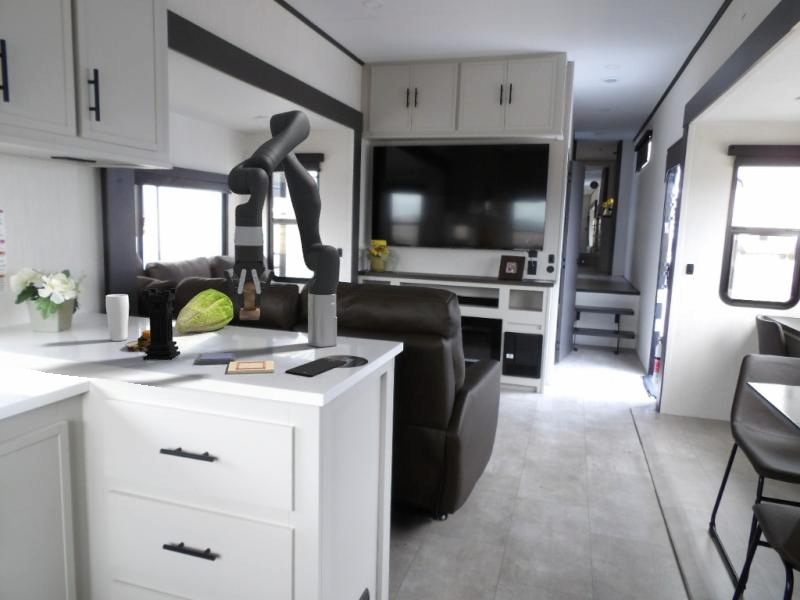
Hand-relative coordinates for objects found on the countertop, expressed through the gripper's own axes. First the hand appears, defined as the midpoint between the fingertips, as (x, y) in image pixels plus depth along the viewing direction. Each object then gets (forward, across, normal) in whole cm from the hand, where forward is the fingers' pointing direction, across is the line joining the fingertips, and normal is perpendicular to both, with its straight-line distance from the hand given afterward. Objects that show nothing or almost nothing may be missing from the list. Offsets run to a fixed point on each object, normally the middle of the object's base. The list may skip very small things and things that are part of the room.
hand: (249, 306), depth 151 cm
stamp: (+3, 0, 0) cm, 3 cm away
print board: (+17, 0, 0) cm, 17 cm away
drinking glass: (+17, +44, -42) cm, 63 cm away
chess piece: (+17, +26, -16) cm, 35 cm away
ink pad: (+17, +10, -10) cm, 22 cm away
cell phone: (+18, -18, +2) cm, 26 cm away
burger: (+18, +33, -29) cm, 48 cm away
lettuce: (+17, +20, -57) cm, 63 cm away
